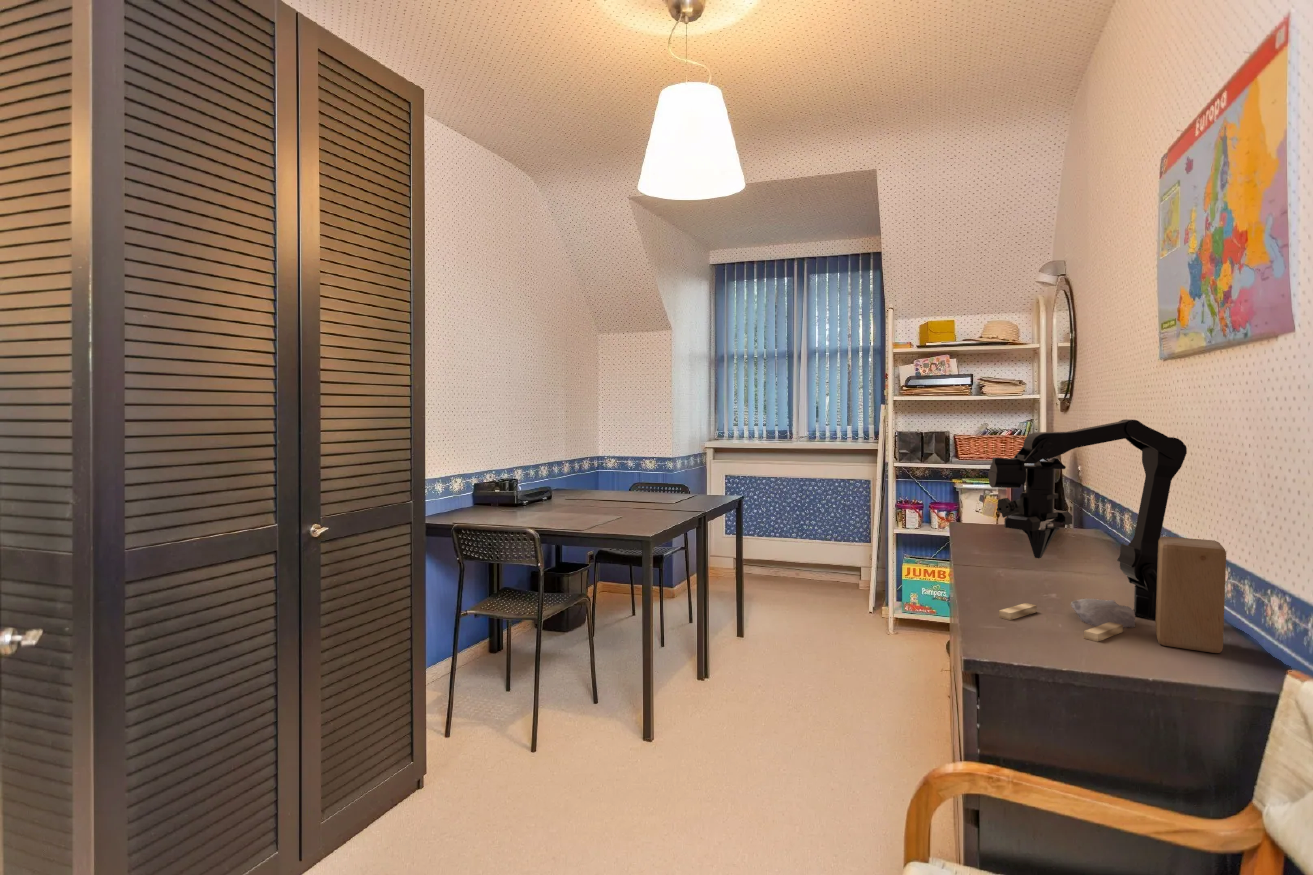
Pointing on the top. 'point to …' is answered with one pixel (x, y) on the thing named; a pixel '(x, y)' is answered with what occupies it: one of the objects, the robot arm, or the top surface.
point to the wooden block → (1190, 594)
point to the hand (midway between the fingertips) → (1037, 557)
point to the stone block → (1103, 612)
